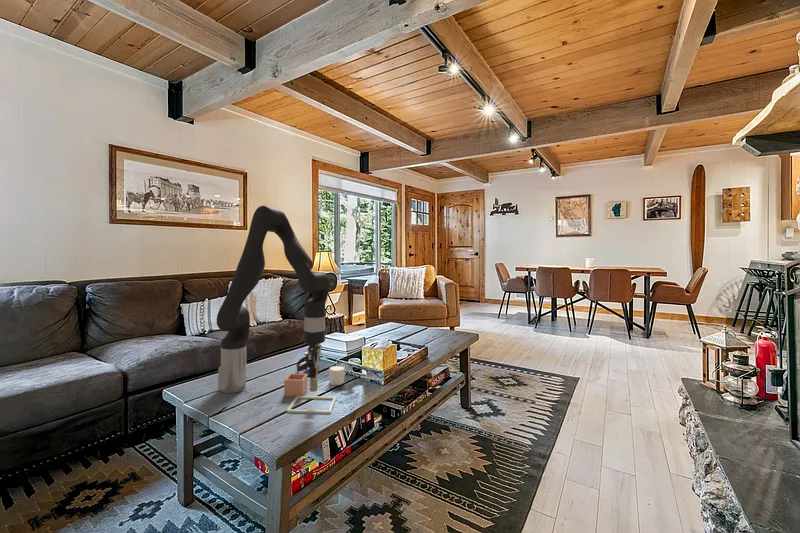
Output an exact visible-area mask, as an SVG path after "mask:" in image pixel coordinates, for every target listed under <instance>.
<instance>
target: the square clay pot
mask: <svg viewBox="0 0 800 533" xmlns="http://www.w3.org/2000/svg"><path fill="white" fill-rule="evenodd" d="M308 376H309V374H308V373H292V372H291V373H289V374H288V375H287V376H286V378H284V384H283V385H284V386H283V387H284V389H283V390H284V391H283V392H284V393H283V395H284V397H296V396H305V394H306V392H307V390H308Z"/></svg>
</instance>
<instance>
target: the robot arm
mask: <svg viewBox="0 0 800 533" xmlns="http://www.w3.org/2000/svg"><path fill="white" fill-rule="evenodd" d="M249 226H250V227H249V229H248V230H249V232H248V235H247V238H246V242H245V245H244V248H243V250H242V254H241V257H240V258H239V262H238V263H237V267H236V269H235V273H234V275H233V278H232V281H231V283H230V286H229V287H228V291H227V294H226V296H225V298H224V300H223V302H222V304H221V306H220V308H219V310H218V313H217V314H216V325H217V327H218V329H219V330H220V331H222V332H227V334H226V335H225V337H224V336H223V338H222V339H221V341H220V366H219V367H218V370H217V372H218V373H217V374H218V377H217V378H218V379H217V391H218V392H221V393H225V394H232V393H233V394H234V393H238V392H242V391H243V390H245V389H246V388H247V341H249V340H248V339H249V337H250V325H251V324H250V323H251V316H250V311H249V310H248V308H247V307H246V306H244V305H243V304H244V302H245V300H246V299H247V297H248V296H249V295H250V294H251V293H252V291H253V290H254V289H255V288H256V286H257V285H258V284H259V282H260V280H261V278H262V276H263V273H264V270H265V266H266V259H265V258H266V257H265V253H264V242H265V238H266V236H267V234H268V232H269V233H274V234H275V235H276V236H277V237H278V238H279V239H280V240H281V242H282V245H283V250H284V251H283V252H284V256H285V259H286V260H287V261H288V262H289V265H290V266H291V268H292V269H293V270H294V272H295V275H296V278H297V281H298V284H299V287H300V288H301V289H302V291H303V292H304V293H306V294H312V295H311V297H310V298H309V299H308V300H306V301H305V303H304V304H305V305H304V318H303V319H304V320H303V342H304V343H305V344H308V345H309V346H308V347H307V354H306V355H305V357H306V359H307V369H308V368H309V374H308V376H309V379H310V378H315V377H316V367H317V365H316V363H317V361H318V365H319V364H320V361H321V354H322V344H323V343H325V341H326V303H327V300H328V296H329V292H330V285H331V281H330V278H329V276H328V275H327V274H326V273H324V272H315V273H313V272H312V269H313V268H314V262H313V260H312V258H310V256H309V255H308V253H307V252H306V250H305V248H303V246H302V245H301V243H300V241H299V239H298V237H297V236H296V233H295V232H294V230H293V227H292V225H291V223H290V221H289V219H288V217H287V216H286V214H285V212H284V211H283V210H281V209H279V208H277V207H272V206H268V205H260V206H257V208H256V209H255V211H254V212H253V215H252V218H251V222H250V225H249ZM315 358H316V359H315ZM311 363H312V364H311Z"/></svg>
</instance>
